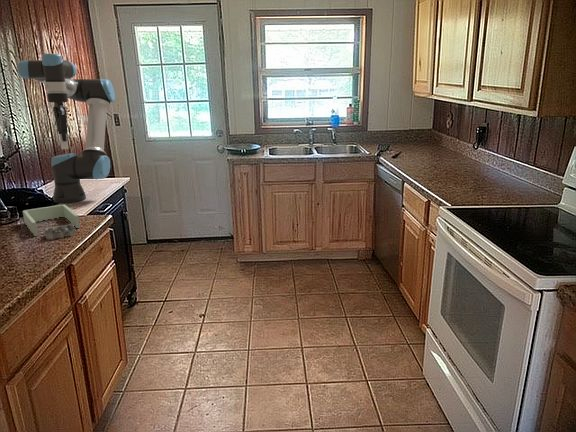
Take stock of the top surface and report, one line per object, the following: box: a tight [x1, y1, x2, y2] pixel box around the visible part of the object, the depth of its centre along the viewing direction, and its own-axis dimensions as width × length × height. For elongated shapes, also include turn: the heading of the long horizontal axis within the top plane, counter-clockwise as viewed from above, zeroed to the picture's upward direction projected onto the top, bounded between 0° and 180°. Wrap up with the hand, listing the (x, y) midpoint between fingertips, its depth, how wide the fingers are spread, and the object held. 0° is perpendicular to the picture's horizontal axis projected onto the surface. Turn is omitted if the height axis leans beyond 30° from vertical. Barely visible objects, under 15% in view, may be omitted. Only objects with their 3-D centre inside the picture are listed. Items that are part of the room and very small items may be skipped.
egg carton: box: [43, 223, 77, 240], centre depth 173 cm, size 11×8×4 cm
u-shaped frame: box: [22, 203, 81, 237], centre depth 185 cm, size 23×16×6 cm
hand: (65, 148), depth 195 cm, fingers closed
